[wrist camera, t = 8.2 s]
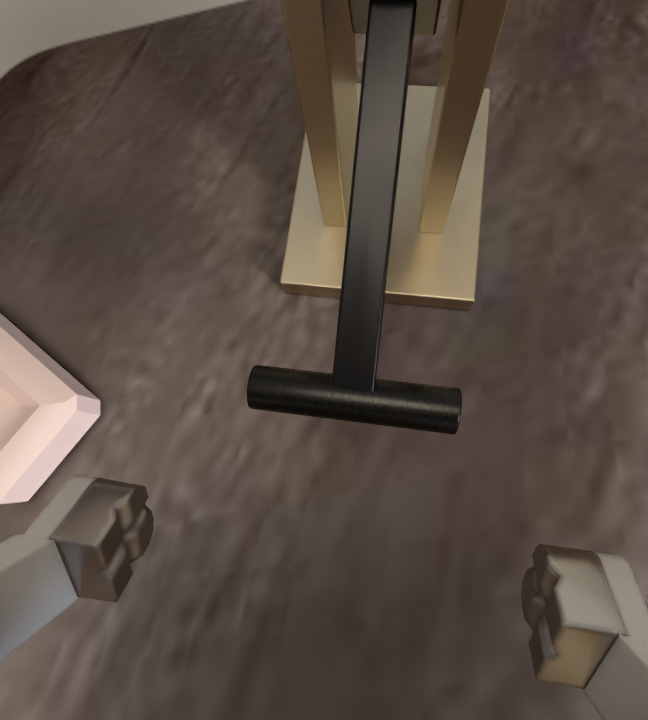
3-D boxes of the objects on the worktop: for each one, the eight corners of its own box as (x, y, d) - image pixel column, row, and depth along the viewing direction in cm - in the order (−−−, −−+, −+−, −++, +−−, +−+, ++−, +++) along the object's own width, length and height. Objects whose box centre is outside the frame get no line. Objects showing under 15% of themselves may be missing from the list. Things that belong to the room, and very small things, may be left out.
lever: (449, 422, 14) (460, 447, 12) (262, 399, 15) (237, 418, 12) (516, -82, 12) (545, -172, 10) (300, -82, 13) (280, -166, 11)
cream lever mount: (469, 311, 21) (611, 68, 8) (284, 293, 22) (166, 53, 9) (484, 107, 23) (617, -327, 10) (315, 99, 24) (253, -306, 11)
